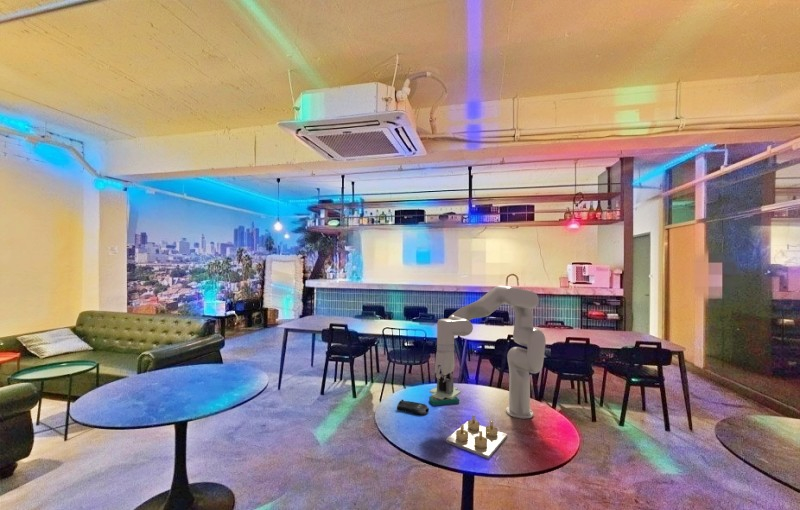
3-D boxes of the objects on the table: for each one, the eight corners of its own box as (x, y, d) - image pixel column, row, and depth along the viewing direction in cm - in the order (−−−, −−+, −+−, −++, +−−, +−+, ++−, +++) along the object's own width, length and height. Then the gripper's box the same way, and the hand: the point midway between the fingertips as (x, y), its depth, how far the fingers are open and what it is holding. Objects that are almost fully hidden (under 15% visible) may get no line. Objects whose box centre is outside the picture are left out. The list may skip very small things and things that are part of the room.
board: (442, 385, 153) (442, 373, 154) (463, 391, 147) (463, 378, 147) (425, 394, 142) (426, 381, 143) (448, 401, 136) (448, 387, 136)
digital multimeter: (427, 401, 173) (428, 395, 173) (453, 398, 177) (453, 393, 177) (432, 407, 166) (433, 401, 166) (459, 404, 170) (459, 398, 170)
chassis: (467, 423, 148) (467, 408, 148) (507, 436, 137) (507, 420, 138) (445, 442, 132) (445, 425, 132) (488, 458, 121) (488, 440, 122)
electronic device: (396, 415, 159) (425, 416, 154) (395, 403, 160) (424, 403, 155) (402, 410, 168) (431, 410, 163) (402, 398, 169) (430, 399, 164)
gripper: (447, 342, 154) (447, 382, 153) (428, 349, 141) (427, 392, 140) (462, 345, 149) (461, 385, 149) (443, 352, 136) (442, 397, 136)
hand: (445, 388), depth 145 cm, fingers closed on board, 4 cm apart
